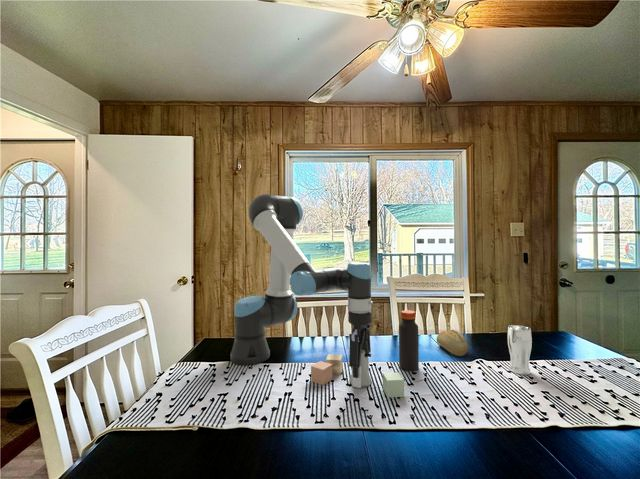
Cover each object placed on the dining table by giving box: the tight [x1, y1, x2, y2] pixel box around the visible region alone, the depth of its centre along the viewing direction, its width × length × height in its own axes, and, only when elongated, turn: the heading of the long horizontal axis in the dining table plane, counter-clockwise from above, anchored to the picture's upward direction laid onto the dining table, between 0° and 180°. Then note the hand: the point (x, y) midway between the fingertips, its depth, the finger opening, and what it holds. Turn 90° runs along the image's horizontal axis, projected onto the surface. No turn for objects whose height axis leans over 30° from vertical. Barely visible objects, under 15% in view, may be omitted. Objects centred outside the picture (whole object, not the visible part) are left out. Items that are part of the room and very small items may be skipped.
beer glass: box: [507, 324, 533, 376], centre depth 104 cm, size 7×7×15 cm
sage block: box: [382, 371, 405, 398], centre depth 90 cm, size 5×5×5 cm
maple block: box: [325, 353, 343, 376], centre depth 106 cm, size 5×5×5 cm
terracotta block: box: [310, 360, 333, 386], centre depth 99 cm, size 5×5×5 cm
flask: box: [349, 350, 373, 388], centre depth 97 cm, size 7×7×10 cm
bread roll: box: [436, 329, 469, 357], centre depth 123 cm, size 10×15×8 cm, turn 12°
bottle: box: [398, 309, 420, 372], centre depth 108 cm, size 7×7×20 cm
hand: (360, 381), depth 97 cm, fingers closed on flask, 7 cm apart
